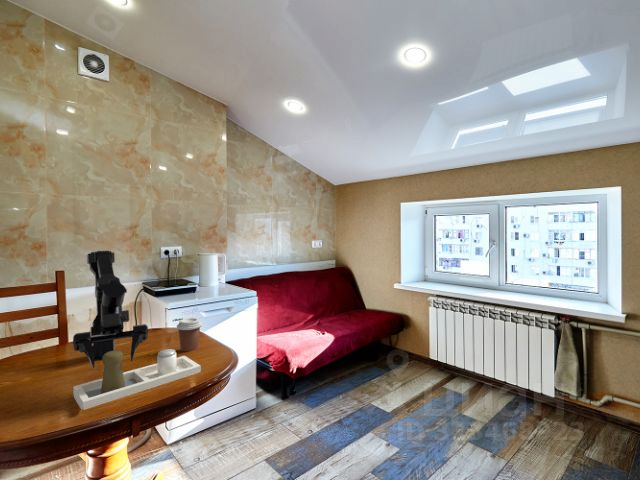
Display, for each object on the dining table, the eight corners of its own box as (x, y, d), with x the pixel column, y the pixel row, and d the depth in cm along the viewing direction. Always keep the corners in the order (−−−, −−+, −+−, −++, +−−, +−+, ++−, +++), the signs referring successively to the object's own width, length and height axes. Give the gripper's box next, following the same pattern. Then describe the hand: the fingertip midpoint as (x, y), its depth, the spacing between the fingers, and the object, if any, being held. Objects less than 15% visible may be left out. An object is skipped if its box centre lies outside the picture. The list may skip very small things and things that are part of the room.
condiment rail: (184, 364, 119) (184, 355, 119) (200, 374, 110) (200, 365, 110) (73, 396, 96) (73, 386, 96) (83, 413, 87) (83, 402, 87)
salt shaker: (176, 369, 112) (176, 347, 112) (176, 376, 107) (176, 353, 107) (157, 372, 110) (157, 350, 110) (157, 379, 105) (156, 356, 104)
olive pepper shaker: (105, 397, 93) (104, 357, 93) (97, 389, 97) (97, 352, 97) (128, 389, 98) (128, 351, 98) (120, 382, 102) (120, 346, 101)
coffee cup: (171, 353, 129) (171, 321, 128) (189, 345, 137) (188, 316, 137) (190, 356, 125) (189, 324, 125) (207, 348, 134) (206, 318, 133)
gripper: (72, 305, 95) (70, 357, 86) (147, 298, 105) (151, 344, 96) (75, 326, 102) (73, 376, 93) (144, 317, 112) (148, 361, 103)
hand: (113, 363), depth 96 cm, fingers open, 9 cm apart
